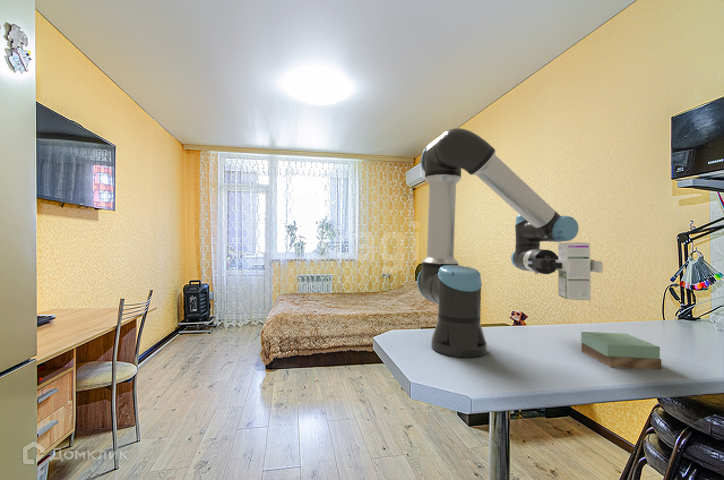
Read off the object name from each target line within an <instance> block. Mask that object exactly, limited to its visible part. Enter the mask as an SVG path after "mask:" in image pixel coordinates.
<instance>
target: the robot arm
mask: <svg viewBox="0 0 724 480" xmlns="http://www.w3.org/2000/svg"><path fill="white" fill-rule="evenodd" d="M496 151H497V150H496V149H495V148H494V147H493V146H492V145H491V144H490V143H488V142H487V141H486V139H484V138H482V137H481V136H479V135H478V134H477V133H474V132H473V131H471V130H468V129H465V128H461V127H460V128H459V127H457V128H451V129H448V130H446V131H444V132H443V133H442V134H441V135H439V136H438V137H437V138H435V139H434V140H432V141H431V142H429V144H427V146H426V147H425V148H424V149H423V151H422V153H421V157H420V165H421V169H422V170H423V171H424V180H425V181H426V183H428V211H427V213H428V214H427V215H428V216H427V218H428V219H427V244H426V245H427V246H426V247H427V248H426V257H425V258H424V259H423V260H422V261H421V270H420V272H419V273H418V275H417V279H416V287H417V289H418V292H419V294H420V295H422V296H423V297H424V298H425V299H426V300H427V301H429V302H431V303H433V304H434V303H435V304H437V305H438V306H437V309H438V311H437V322H436V326H435V328H434V331H433V334H432V337H431V348H432V349H433V351H435V352H437V353H439V354H442V355H445V356H450V357H456V358H477V357H478V358H479V357H482V356H485V355H486V354H487V353H488V352H487V350H488V349H487V348H488V345H487V340H486V338H485V334H484V332H483V328H482V323H481V312H482V311H481V305H482V304H481V303H482V299H481V298H482V286H483V284H482V277H481V273H480V271H479V270H478V269H476V268H473V267H471V266H464V265H459V262H458V260H457V259H456V258H455V254H454V253H455V228H456V225H455V224H456V197H457V184H458V183H459V182H460V180H462V170H464V171H465V172H467V173H468V174H469V175H470V176H477V177H478V178H479V179H480V180H481V181H482V182H483V183H484V184H486V186H487V187H488V188H490V189H491V190H492V191H493V192H494V193H495V194H496V195H497V196H498V197H500V198H501V199H502V200H503V201H504V202H505V203H506V204H508V206H509V207H511V208H512V210H513V211H515V212H516V213H518V214H517V215H516V218H515V225H514V229H515V250H514V251H513V252H512V253H511V256H510V261H511V263H512V265H513V266H514V267H515V268H517V269H518V270H521V271H527V272H531V273H534V274H535V275H539V274H543V275H550V274H552V273H556V271H558V270H559V271H565V272H573V261H565V260H558V254H556V253H555V251H553V250H550V249H541V242H549V243H550V242H552V243H553V242H554V243H564V242H570V241H573V240H574V239H575V238H576V237H577V235H578V234H579V229H580V228H579V223H578V221H577V220H576V219H575V218H574V217H572V216H568V215H560V214H559V213H558V212H557V211H556V210H555V209H554V208H553V207H551V205H550V204H549V203H547V202H546V201H545V200H544V199H543V198H542V197H541V196H540V195H539V194H538V193H536V191H534V190H533V188H532V187H530V186H529V185H528V184H527V183H526V182H524V180H522V178H521V177H520V176H519V175H518V174H517V173H516V172H514V171H513V170H512V169H511V168H510V167H509V166H508V165H507V164H506V163H504V161H502V160H501V159H500V158H499V156H497V155H496ZM603 264H604V263H603V261H600V260H598V261H597V260H594V259H590V271H591V272H593V273H601V274H602V273H603V269H604V268H603Z"/></svg>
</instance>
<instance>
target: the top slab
mask: <svg viewBox="0 0 724 480" xmlns="http://www.w3.org/2000/svg"><path fill="white" fill-rule="evenodd" d="M580 333H581V334H580V342H581V343H584V344H585V345H587V346H589V347H591V348H593V349H595V350H596V351H598V352H600V353H602V354H604V355H606V356H607V357H628V358H649V359H661V352H660V351H661V347H660V346H658V345H657V344H654V343H652V342H648V341H646V340H643V339H641V338H638V337H636V336H633V335H632V334H629V333H623V332H621V333H620V332H619V333H617V332H600V331H598V332H597V331H596V332H594V331H581V332H580Z"/></svg>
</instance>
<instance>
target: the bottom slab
mask: <svg viewBox="0 0 724 480" xmlns="http://www.w3.org/2000/svg"><path fill="white" fill-rule="evenodd" d="M580 345H581V349H580V351H581V353H583V354H585V355H587V356H589V357H591V358H593V359H595V360H596V359H597V360H596V361H598V362H600V363H602V364H604V365H605V364H606V366H607V365H608V367H609V366H610V367H609V368H615V367H624V368H623V369H643V368H646V370H647V369H648V370H649V369H650V370H662V359H661V358H660V359H649V358H628V357H607V356H606V355H604V354H602V353H600V352H598V351H596V350H595V349H593V348H591V347H589V346H587V345H585V344H584V343H582V342H581V344H580Z"/></svg>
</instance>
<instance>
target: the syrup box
mask: <svg viewBox="0 0 724 480" xmlns="http://www.w3.org/2000/svg"><path fill="white" fill-rule="evenodd" d="M557 243H558V245H557V246H558V249H557V252H558V253H557V256H558V260H565V261H573V272H565V271H559V270H557V271H558V273H557V274H558V279H557V280H558V296H559V297H561V298H563V299H565V300H569V301H570V300H572V301H573V300H574V301H591V300H592V297H591V295H592V290H591V286H592V285H591V283H592V281H591V279H592V278H591V271H590V260H591V243H590V242H576V241H575V242H557Z"/></svg>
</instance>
